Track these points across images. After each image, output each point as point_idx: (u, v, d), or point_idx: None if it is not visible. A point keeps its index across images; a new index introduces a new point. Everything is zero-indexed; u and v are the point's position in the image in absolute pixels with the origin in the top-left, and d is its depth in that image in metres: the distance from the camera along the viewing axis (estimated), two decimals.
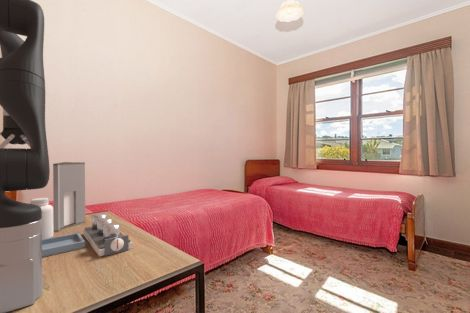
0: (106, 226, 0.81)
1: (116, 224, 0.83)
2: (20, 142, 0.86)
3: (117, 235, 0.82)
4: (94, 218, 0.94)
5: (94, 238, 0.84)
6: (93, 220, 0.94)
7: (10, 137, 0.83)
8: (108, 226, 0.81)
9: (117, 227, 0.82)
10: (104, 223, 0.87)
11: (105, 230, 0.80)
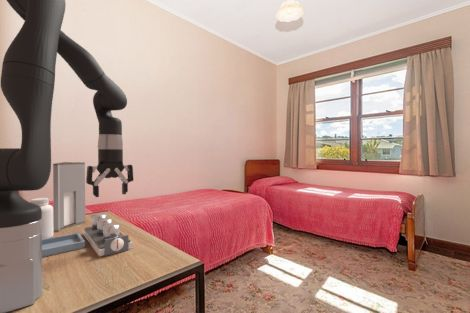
0: (106, 226, 0.81)
1: (116, 224, 0.83)
2: (114, 175, 0.82)
3: (117, 235, 0.82)
4: (94, 218, 0.94)
5: (94, 238, 0.84)
6: (93, 220, 0.94)
7: (106, 171, 0.80)
8: (108, 226, 0.81)
9: (117, 227, 0.82)
10: (104, 223, 0.87)
11: (105, 230, 0.80)
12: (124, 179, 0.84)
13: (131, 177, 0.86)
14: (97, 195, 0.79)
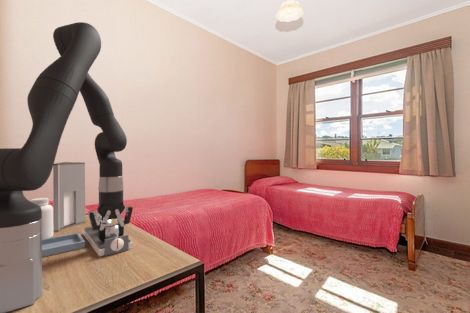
0: (106, 226, 0.81)
1: (116, 224, 0.83)
2: (114, 217, 0.82)
3: (117, 235, 0.82)
4: None
5: (94, 238, 0.84)
6: None
7: (107, 214, 0.80)
8: (108, 226, 0.81)
9: (117, 227, 0.82)
10: None
11: (105, 230, 0.80)
12: (120, 222, 0.83)
13: (128, 219, 0.85)
14: (102, 239, 0.80)
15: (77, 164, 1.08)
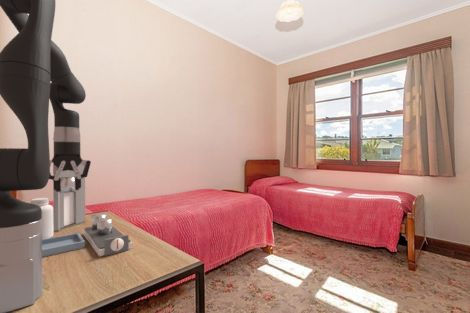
0: (61, 177, 0.81)
1: (73, 176, 0.83)
2: (70, 168, 0.82)
3: (73, 187, 0.82)
4: (94, 218, 0.94)
5: (94, 238, 0.84)
6: (93, 220, 0.94)
7: (62, 164, 0.80)
8: (63, 177, 0.81)
9: (73, 179, 0.82)
10: (104, 223, 0.87)
11: (60, 180, 0.80)
12: (77, 175, 0.83)
13: (85, 173, 0.85)
14: (57, 189, 0.80)
15: None
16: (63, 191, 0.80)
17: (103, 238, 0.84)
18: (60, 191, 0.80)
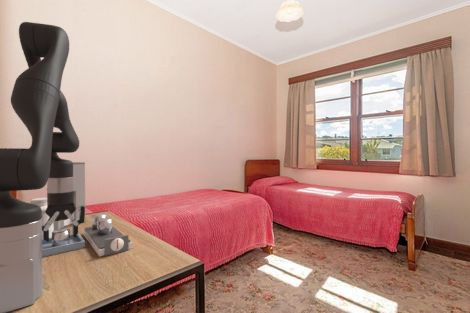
0: (55, 232, 0.81)
1: (66, 230, 0.83)
2: (64, 218, 0.82)
3: (66, 241, 0.82)
4: (94, 218, 0.94)
5: (94, 238, 0.84)
6: (93, 220, 0.94)
7: (55, 215, 0.80)
8: (57, 232, 0.81)
9: (66, 233, 0.82)
10: (104, 223, 0.87)
11: (53, 236, 0.80)
12: (74, 222, 0.84)
13: (82, 219, 0.85)
14: (47, 240, 0.79)
15: (77, 164, 1.08)
16: None
17: (103, 238, 0.84)
18: (53, 246, 0.80)
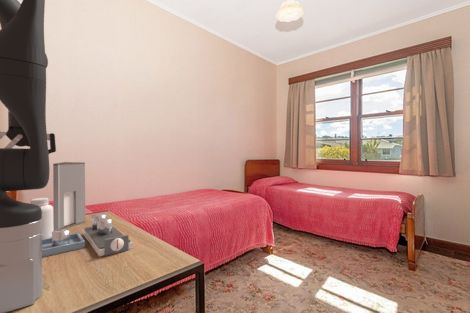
0: (55, 232, 0.81)
1: (66, 230, 0.83)
2: (29, 144, 0.71)
3: (66, 241, 0.82)
4: (94, 218, 0.94)
5: (94, 238, 0.84)
6: (93, 220, 0.94)
7: (17, 138, 0.69)
8: (57, 232, 0.81)
9: (66, 233, 0.82)
10: (104, 223, 0.87)
11: (53, 236, 0.80)
12: None
13: (53, 147, 0.75)
14: None
15: (77, 164, 1.08)
16: None
17: (103, 238, 0.84)
18: (53, 246, 0.80)
